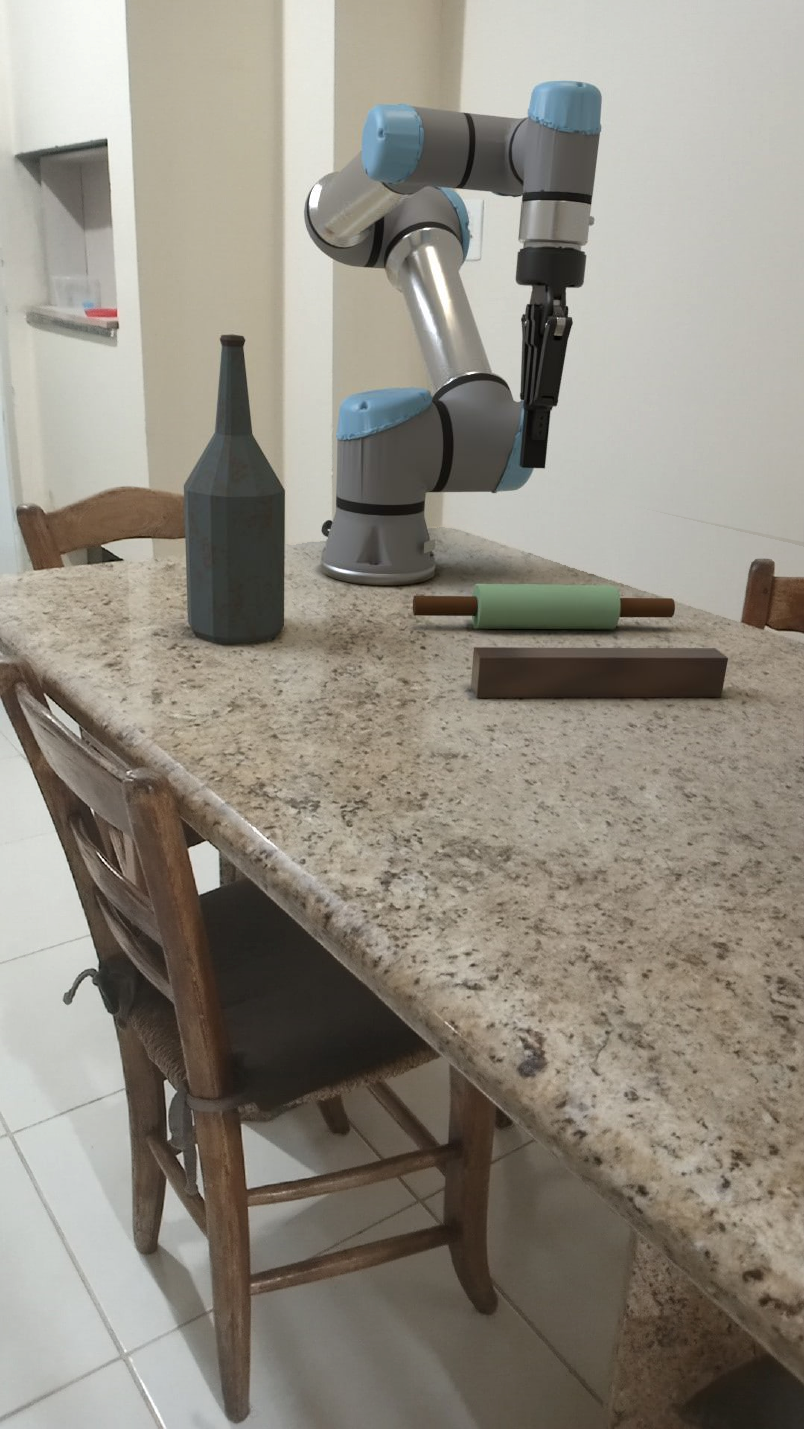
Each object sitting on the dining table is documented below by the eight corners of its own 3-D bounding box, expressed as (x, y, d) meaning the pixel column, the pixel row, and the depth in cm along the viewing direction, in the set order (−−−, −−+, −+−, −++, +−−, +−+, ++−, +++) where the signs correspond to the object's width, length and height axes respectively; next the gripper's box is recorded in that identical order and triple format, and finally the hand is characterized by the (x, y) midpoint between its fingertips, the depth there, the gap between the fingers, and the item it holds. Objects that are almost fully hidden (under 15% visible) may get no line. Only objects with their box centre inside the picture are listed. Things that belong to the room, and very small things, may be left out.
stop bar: (476, 698, 95) (480, 657, 93) (470, 686, 98) (473, 647, 96) (721, 697, 98) (728, 658, 97) (708, 686, 101) (715, 647, 99)
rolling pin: (410, 629, 116) (417, 627, 111) (410, 584, 116) (417, 581, 111) (662, 630, 120) (680, 628, 115) (663, 587, 120) (680, 584, 115)
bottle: (302, 631, 111) (306, 337, 100) (238, 652, 104) (234, 337, 92) (234, 612, 116) (230, 331, 105) (168, 630, 109) (157, 330, 98)
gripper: (604, 247, 106) (579, 477, 115) (568, 252, 118) (548, 459, 127) (534, 243, 105) (514, 475, 114) (505, 248, 117) (489, 457, 126)
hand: (532, 466), depth 121 cm, fingers closed
